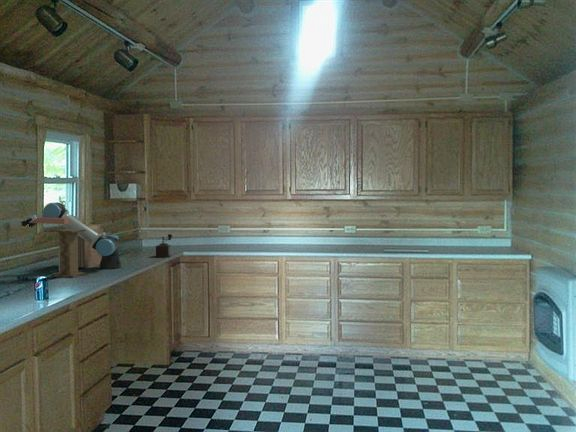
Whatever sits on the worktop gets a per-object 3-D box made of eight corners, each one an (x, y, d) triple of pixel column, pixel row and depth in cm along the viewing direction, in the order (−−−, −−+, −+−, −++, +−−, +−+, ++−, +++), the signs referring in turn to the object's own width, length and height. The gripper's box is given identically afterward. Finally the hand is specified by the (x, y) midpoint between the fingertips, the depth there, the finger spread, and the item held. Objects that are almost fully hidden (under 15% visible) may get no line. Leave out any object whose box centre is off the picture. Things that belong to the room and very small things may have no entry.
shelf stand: (51, 276, 376) (50, 230, 374) (65, 273, 388) (64, 228, 386) (73, 278, 370) (72, 231, 368) (86, 274, 383) (85, 229, 381)
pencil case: (26, 222, 385) (26, 217, 384) (31, 222, 389) (31, 217, 389) (64, 224, 375) (64, 218, 375) (68, 223, 380) (68, 218, 379)
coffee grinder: (169, 257, 470) (168, 235, 469) (155, 257, 470) (155, 235, 469) (173, 255, 485) (173, 233, 484) (160, 255, 486) (159, 233, 484)
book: (84, 268, 410) (84, 226, 408) (73, 268, 412) (72, 226, 410) (104, 263, 434) (103, 223, 433) (92, 263, 437) (92, 223, 435)
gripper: (26, 236, 399) (50, 220, 392) (6, 239, 382) (31, 222, 375) (21, 227, 400) (45, 210, 393) (2, 229, 383) (26, 212, 376)
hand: (38, 216), depth 384 cm, fingers closed on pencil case, 4 cm apart
